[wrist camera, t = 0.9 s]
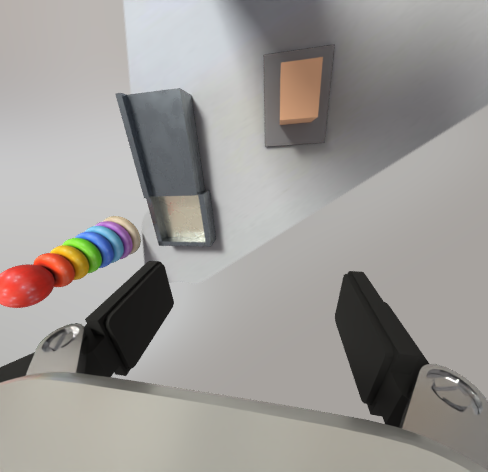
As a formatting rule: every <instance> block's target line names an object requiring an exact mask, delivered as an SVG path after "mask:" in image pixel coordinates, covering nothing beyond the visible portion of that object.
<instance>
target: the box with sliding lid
mask: <svg viewBox="0 0 488 472" xmlns="http://www.w3.org/2000/svg"><path fill="white" fill-rule="evenodd" d="M116 98H117V101H118V105H119V108H120V112H121V115H122V119H123V123H124V127H125V130H126V134H127V137H128V141H129V144H130V148H131V152H132V155H133V159H134V163H135V166H136V170H137V173H138V177H139V181H140V184H141V188H142V192H143V195H144V198H146V199H147V203H148V207H149V210H150V214H151V218H152V221H153V225H154V229H155V232H156V236H157V240H158V243H159V246H209V247H211V246H212V244H213V243H214V241H215V240H216V236H215V228H214V221H213V213H212V206H211V198H210V191H205V188H204V181H203V174H202V167H201V160H200V153H199V146H198V139H197V132H196V125H195V118H194V111H193V104H192V97H191V95H190V94H188V93H187V92H185V91H183V90H182V89H180V88H177V89H170V90H162V91H154V92H146V93H138V94H130V95H125V94H123V93H117V94H116Z"/></svg>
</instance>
